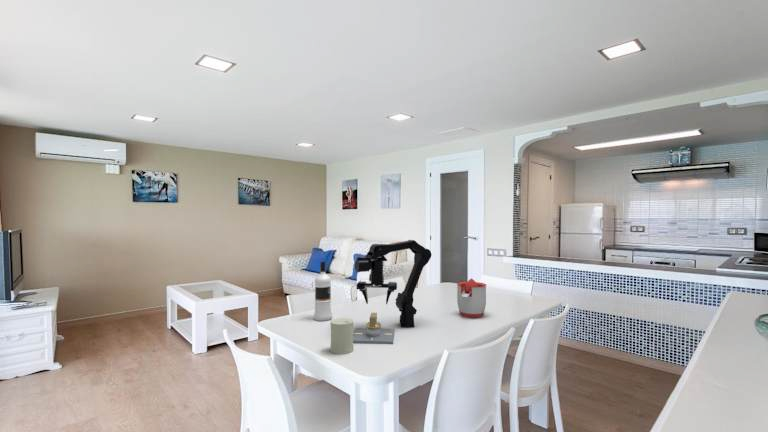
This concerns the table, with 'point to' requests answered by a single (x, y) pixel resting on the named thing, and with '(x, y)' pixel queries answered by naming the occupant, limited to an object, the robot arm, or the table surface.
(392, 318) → the table surface
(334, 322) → the can
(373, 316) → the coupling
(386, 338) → the post base
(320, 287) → the vodka
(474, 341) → the table surface
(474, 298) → the citrus juicer
